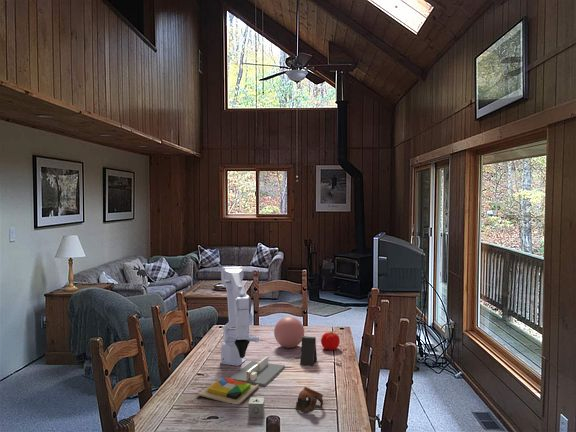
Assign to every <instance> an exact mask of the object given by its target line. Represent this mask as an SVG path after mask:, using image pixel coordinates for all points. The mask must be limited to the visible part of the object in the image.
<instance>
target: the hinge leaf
mask: <svg viewBox="0 0 576 432" xmlns="http://www.w3.org/2000/svg"><path fill="white" fill-rule="evenodd" d="M258 369H259V366H258V364H256V365H254V366H253V367H252V368H250V369H249V370H248V371H247V379H248V380H249V379H250V374H251V373H252V372H258Z"/></svg>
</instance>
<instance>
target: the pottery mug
mask: <svg viewBox="0 0 576 432" xmlns="http://www.w3.org/2000/svg"><path fill="white" fill-rule="evenodd" d="M323 397H324V395H323V394H322V393H320V392H319V391H316V390H314V389H311V388H310V387H308V386H304V387H303V389H302V390H301V391H299V394H298V397H297V401H296V403H295V408H294V409H296V410H298V411H299V412H301V413H303V414H306V411H308V412H310V413H311V412H314V410H315V407H316V405H317V402H319V403H320V408H323V405H324V400H323Z"/></svg>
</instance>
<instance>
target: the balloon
mask: <svg viewBox="0 0 576 432" xmlns="http://www.w3.org/2000/svg"><path fill="white" fill-rule="evenodd" d="M273 333H274V339H275V340H276V341H275V342H277V344H278V345H280V346H281V347H283V348H286V349H287V348H288V349H292V348H296V347H297V346H298V345H300V344H302V337H303V336H305V327H304V325H303V323H302V322H301V321H300V320H299V319H298V318H297V317H293V316H285V317H282V318H281V319H279V320H278V321H277V323H276V324H275V325H274V330H273Z"/></svg>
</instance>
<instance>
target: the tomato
mask: <svg viewBox="0 0 576 432" xmlns="http://www.w3.org/2000/svg"><path fill="white" fill-rule="evenodd" d="M340 340H341V338H340V336H339V334H337V333H335V332H332V331H329V332H325V333H324V334H322V336H321V339H320V344H321V346H322V348H324V350H330V351H332V350H336V349H338V347H339V345H340V342H341V341H340Z"/></svg>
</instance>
